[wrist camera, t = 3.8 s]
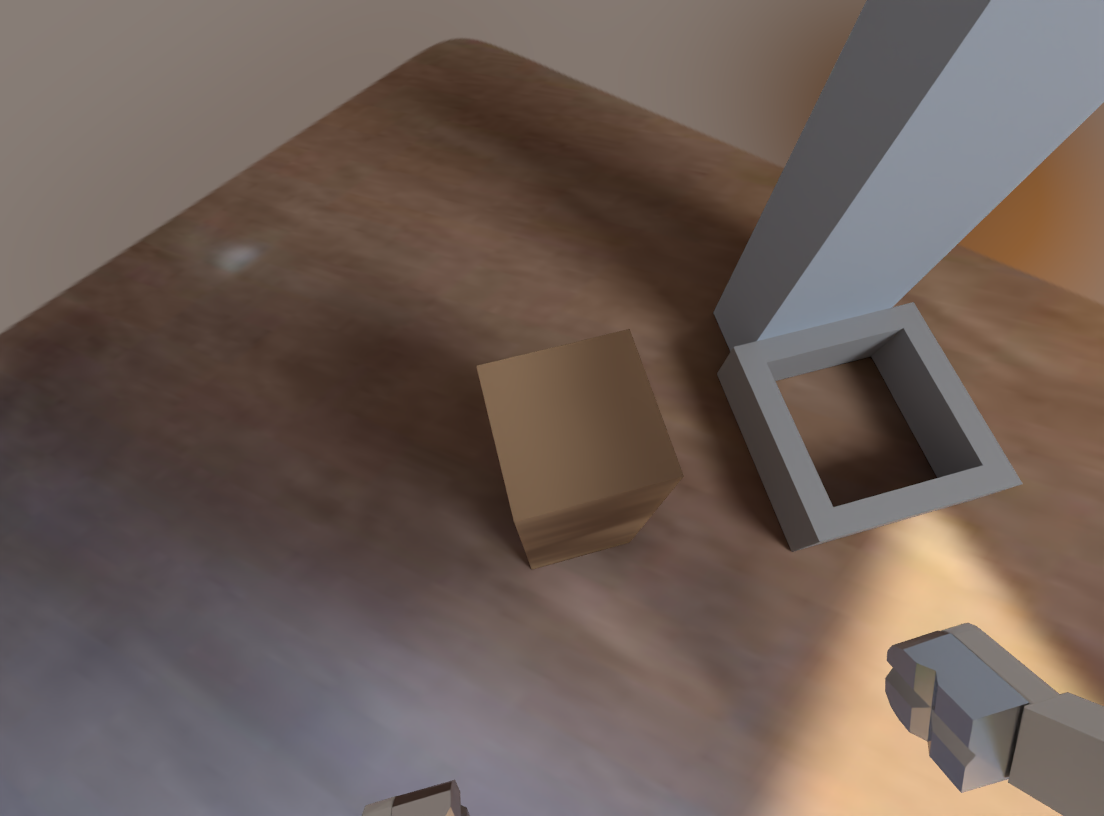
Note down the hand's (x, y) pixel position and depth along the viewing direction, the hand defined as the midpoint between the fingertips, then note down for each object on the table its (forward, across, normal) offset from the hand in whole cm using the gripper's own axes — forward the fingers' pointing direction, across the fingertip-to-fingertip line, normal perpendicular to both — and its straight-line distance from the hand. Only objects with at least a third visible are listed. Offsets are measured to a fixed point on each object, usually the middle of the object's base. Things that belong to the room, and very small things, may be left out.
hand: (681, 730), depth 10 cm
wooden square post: (+12, 0, +3) cm, 13 cm away
